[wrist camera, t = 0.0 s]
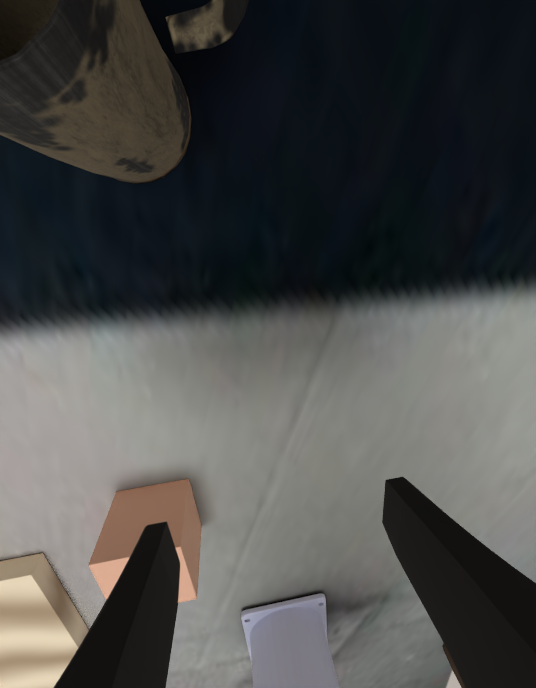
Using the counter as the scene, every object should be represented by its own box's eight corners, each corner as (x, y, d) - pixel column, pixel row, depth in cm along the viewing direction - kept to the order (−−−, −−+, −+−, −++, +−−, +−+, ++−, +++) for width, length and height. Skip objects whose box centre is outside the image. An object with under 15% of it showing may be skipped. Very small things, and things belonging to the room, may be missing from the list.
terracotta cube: (201, 525, 24) (196, 598, 19) (135, 538, 23) (114, 616, 19) (189, 477, 22) (180, 546, 17) (116, 490, 21) (88, 565, 17)
